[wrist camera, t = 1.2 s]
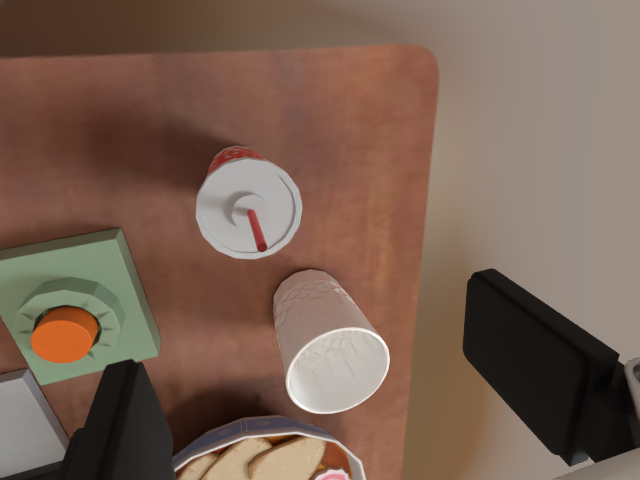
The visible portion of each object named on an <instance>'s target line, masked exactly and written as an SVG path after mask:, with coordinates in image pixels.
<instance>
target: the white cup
mask: <svg viewBox="0 0 640 480" xmlns="http://www.w3.org/2000/svg"><path fill="white" fill-rule="evenodd" d="M273 314H274V319H275V329H276V335H277V342H278V347H279V352H280V357H281V362H282V368H283V373H284V378H285V383H286V389H287V392H288V394H289V396H290V398H291V400H292V401H293V402H294V403H295V404H296V405H297V406H298V407H300V408H302V409H304V410H306V411H308V412H312V413H317V414H331V413H337V412H341V411H345V410H348V409H350V408H352V407H354V406H356V405H358V404H360V403H362V402H363V401H365V400H366V399H367V398H368V397H370V396H371V395H372V394H373V393H374V392H375V391H376V390H377V389H378V387H379V386H380V385H381V383H382V382H383V380H384V378H385V376H386V374H387V371H388V368H389V361H390V357H389V351H388V348H387V346H386V344H385V342H384V341H383V339H382V338H381V337H380V336H379V334H378V333H377V332H376V330H375V329H374V328H373V326H372V325H371V324H370V322H369V321H368V320H367V318H366V317H365V315H364V314H363V313H362V311H361V310H360V309H359V307H358V306H357V305H356V304H355V303H354V302H353V300H352V299H351V297H350V296H349V295H348V294H347V293H346V292H345V291H344V290H343V289H342V287H341V286H340V284H339V283H338V282H337V280H336V279H334V278H333V277H332V276H330V275H329V274H328V273H326V272H324V271H318V270H312V269H309V270H305V271H301V272H297V273H294V274H293V275H291V276H290V277H289V278H287V279H286V280H284V281H283V282H282V283H281V284H280V286H279V288H278V289H277V291H276V293H275V294H274V296H273Z"/></svg>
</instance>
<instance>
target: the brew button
mask: <svg viewBox="0 0 640 480" xmlns="http://www.w3.org/2000/svg"><path fill="white" fill-rule="evenodd" d="M97 331H98V326H97V322H96V320H95V319H94V317H93V316H92V315H91V314H90V313H88V312H87V311H85V310H83V309H80V308H76V307H60V308H56V309H54V310H51V311H50V312H48V313H47V314H46V315H45V316H44V317H43V318H42V320H41V321H40V323H39V324H38V326H37V327H36V329H35V330H34V332H33V333H32V336H31V346H32V349H33V350H34V352H35V353H36V354H37V355H38V356H39V357H41V358H42V359H44V360H47V361H49V362H53V363H70V362H74V361H77V360H79V359H81V358H83V357H84V356H85V355H86V354H87V353H88V352H89V351H90V349H91V347H92V344H93V342H94V339H95V337H96V335H97Z"/></svg>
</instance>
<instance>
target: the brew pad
mask: <svg viewBox="0 0 640 480" xmlns="http://www.w3.org/2000/svg"><path fill="white" fill-rule="evenodd" d="M60 307H76V308H80V309H83V310H85V311H87V312H88V313H90V314H91V315H92V316H93V317H94V319H95V320H96V322H97V326H98V331H97V335H96V337H95V339H94V342H93V344H92V347H91V349H90V351H89V352H88V353H87V354H86V355H85V356H84V357H83V358H81V359H79V360H77V361H74V362H70V363H53V362H49V361H47V360H44V359H42V358H41V357H39V356H38V355H37V354H36V353H35V352H34V350H33V349H32V346H31V336H32V333H33V332H34V330H35V329H36V327H37V326H38V324H39V323H40V321H41V320H42V318H43V317H44V316H45V315H46V314H47V313H48V312H50V311H51V310H54V309H56V308H60ZM0 316H1V318H2V319H3V321H4V323H5V325H6V326H7V328H8V330H9V332H10V333H11V335H12V337H13V339H14V340H15V342H16V344H17V346H18V347H19V349H20V351H21V352H22V354H23V356H24V358H25V359H26V361H27V363H28V365H29V366H30V368H31V370H32V372H33V373H34V375H35V377H36V379H37V380H38V382H39V384H40V385H41V386H42V385H46V384H50V383H54V382H58V381H61V380H65V379H69V378H73V377H77V376H81V375H85V374H89V373H93V372H97V371H101V370H104V369H105V367H106V366H107V365H108V364H112V363H116V362H120V361H124V360H128V359H133V360H134V361H135V362H137V361H141V360H145V359H149V358H152V357H156V356H159V351H160V345H161V337H160V334H159V332H158V329H157V326H156V323H155V321H154V318H153V315H152V312H151V309H150V307H149V304H148V301H147V298H146V296H145V293H144V290H143V287H142V284H141V282H140V279H139V276H138V273H137V271H136V268H135V265H134V262H133V259H132V257H131V254H130V251H129V248H128V245H127V243H126V240H125V237H124V234H123V232H122V229H121V228H117V229H112V230H106V231H101V232H95V233H90V234H85V235H79V236H74V237H68V238H63V239H57V240H52V241H47V242H41V243H36V244H30V245H25V246H19V247H14V248H8V249H3V250H0Z"/></svg>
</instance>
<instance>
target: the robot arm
mask: <svg viewBox="0 0 640 480" xmlns="http://www.w3.org/2000/svg"><path fill="white" fill-rule="evenodd" d="M463 352H464V355H465V357H466V359H467V360H468V361H469V362H470V363H471V364H472V366H473V367H474V368H475V369H476V370H477V371H478V372H479V373H480V374H481V375H482V377H483V378H484V379H485V380H486V381H487V382H488V383H489V384H490V385H491V386H492V388H493V389H494V390H495V391H496V392H497V393H498V394H499V395H500V397H502V399H503V400H504V401H505V402H506V403H507V404H508V405H509V407H510V408H511V409H512V410H513V411H514V412H515V413H516V414H517V415H518V416H519V417H520V419H521V420H522V421H523V422H524V423H525V424H526V425H527V426H528V428H529V429H530V430H531V431H532V432H533V433H534V434H535V435H536V436H537V438H538V439H539V440H540V441H541V442H542V443H543V444H544V445H545V446H546V447H547V449H548V450H549V451H550V452H551V453H553V454H555V455H559V456H560V457H561V458H562V459H563V460H564V461H565V462H566V463H567V464H568V465H569V466H573V465H575V464H578V463H581V462H583V461H586V460H588V457H590V458H591V459H592V460H593V461H594V462H595V464H592V465H590V466H586V467H584V468H581V469H578V470H576V471H573V472H571V473H568V474H565V475H563V476H560V477H558V478H555V479H552V480H640V358H634V359H632V360H629V361H628V362H627V363H626V365H625V366H624V365H623V364H622V363H620V362H619V361H618V358H619V354H618V353H617V352H616V351H614V350H613V349H611V348H610V347H608V346H607V345H605V344H604V343H603V342H601V341H600V340H598V339H596V338H595V337H594V336H592V335H591V334H589V333H588V332H586V331H585V330H583V329H582V328H580V327H579V326H578V325H576V324H574V323H573V322H572V321H570V320H569V319H567V318H566V317H564V316H563V315H561V314H560V313H558V312H557V311H555V310H554V309H553V308H551V307H550V306H548V305H547V304H545V303H544V302H542V301H541V300H539V299H538V298H536V297H535V296H534V295H532V294H531V293H529V292H527V291H526V290H525V289H523V288H522V287H520V286H519V285H517V284H516V283H514V282H513V281H511V280H510V279H509V278H507V277H506V276H504V275H503V274H501V273H500V272H498V271H497V270H495V269H487V270H483V271H479V272H475V273H473V275H472V276H471V279H469V280H468V283H467V295H466V309H465V323H464V337H463ZM172 454H173V438H172V434H171V431H170V429H169V426H168V424H167V421H166V419H165V416H164V414H163V411H162V409H161V406H160V404H159V401H158V399H157V396H156V394H155V391H154V389H153V387H152V384H151V382H150V379H149V377H148V374H147V372H146V369H145V367H144V365H143V363H142V362H139V363H135V361H134V360H133V359H128V360H124V361H120V362H116V363H112V364H108V365H107V366H106V367H105V369H104V372H103V375H102V378H101V380H100V383H99V386H98V389H97V392H96V394H95V397H94V400H93V403H92V406H91V408H90V411H89V414H88V417H87V420H86V422H85V425H84V427H83V428H80V429H77V430H76V431H75V432H74V434H73V436H72V438H71V440H70V442H69V445H68V447H67V450H66V453H65V455H64V458H63V461H62V463H61V466H60V468H59V471H58V474H57V476H56V479H55V480H170V474H171V464H172Z"/></svg>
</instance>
